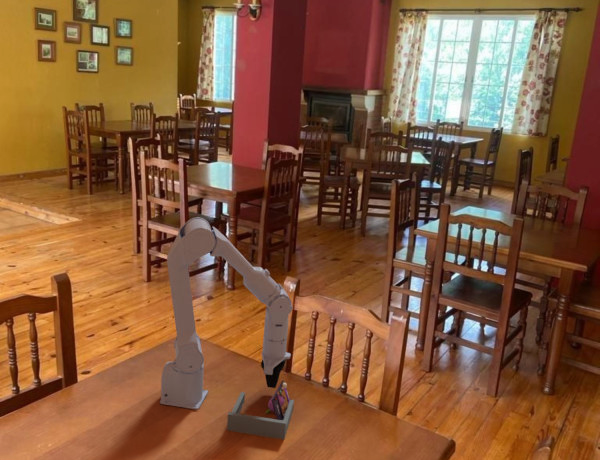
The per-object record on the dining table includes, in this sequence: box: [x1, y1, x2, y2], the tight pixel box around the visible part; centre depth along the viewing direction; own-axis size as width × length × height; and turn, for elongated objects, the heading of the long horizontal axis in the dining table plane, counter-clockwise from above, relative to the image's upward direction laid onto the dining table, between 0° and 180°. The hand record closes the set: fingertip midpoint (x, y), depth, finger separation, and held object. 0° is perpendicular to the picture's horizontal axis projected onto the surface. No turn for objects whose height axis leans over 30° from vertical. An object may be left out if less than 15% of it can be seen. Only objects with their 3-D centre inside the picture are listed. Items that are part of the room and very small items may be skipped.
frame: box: [226, 391, 295, 440], centre depth 132 cm, size 13×12×4 cm
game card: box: [265, 380, 291, 420], centre depth 135 cm, size 7×5×9 cm
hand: (271, 386), depth 143 cm, fingers closed
